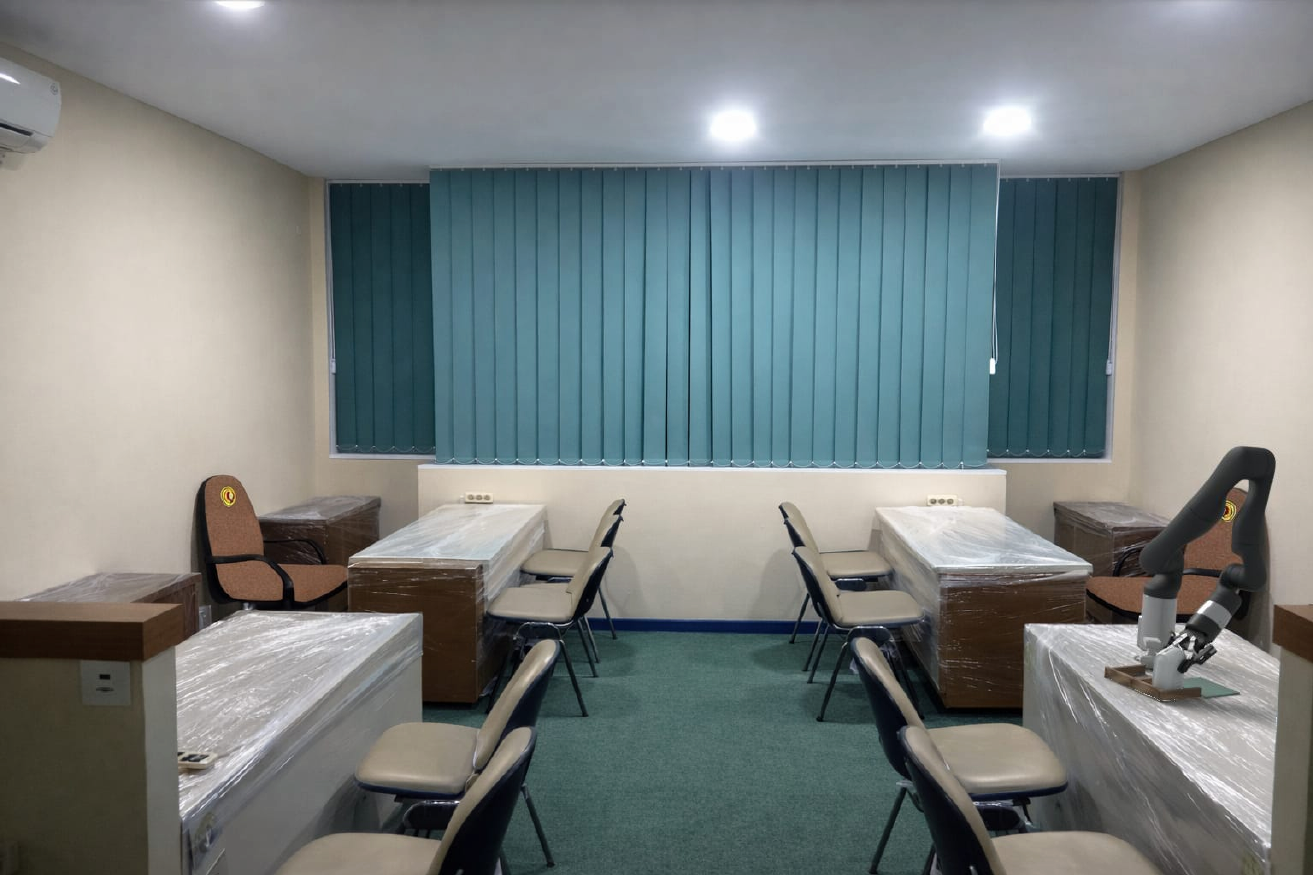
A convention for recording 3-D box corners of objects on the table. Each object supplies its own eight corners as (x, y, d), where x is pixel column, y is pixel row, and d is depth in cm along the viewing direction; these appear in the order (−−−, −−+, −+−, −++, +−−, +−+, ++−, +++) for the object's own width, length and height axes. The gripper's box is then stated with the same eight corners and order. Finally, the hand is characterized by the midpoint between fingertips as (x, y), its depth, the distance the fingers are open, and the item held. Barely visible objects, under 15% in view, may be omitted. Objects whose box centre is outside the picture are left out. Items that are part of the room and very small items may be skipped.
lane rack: (1104, 676, 251) (1105, 666, 251) (1142, 672, 255) (1143, 662, 255) (1160, 702, 233) (1161, 690, 233) (1201, 696, 237) (1201, 686, 237)
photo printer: (1168, 685, 245) (1173, 642, 243) (1184, 691, 241) (1189, 647, 240) (1148, 692, 239) (1153, 648, 238) (1164, 698, 236) (1169, 654, 234)
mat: (1167, 682, 248) (1167, 680, 248) (1200, 678, 252) (1200, 676, 252) (1205, 698, 237) (1205, 696, 237) (1239, 693, 240) (1239, 692, 240)
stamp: (1134, 668, 258) (1136, 640, 258) (1131, 661, 265) (1133, 633, 264) (1170, 673, 255) (1172, 644, 255) (1165, 665, 262) (1167, 637, 261)
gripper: (1179, 605, 248) (1141, 650, 246) (1225, 620, 235) (1186, 668, 232) (1192, 622, 250) (1155, 667, 248) (1239, 638, 237) (1200, 686, 234)
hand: (1170, 667), depth 240 cm, fingers closed on photo printer, 5 cm apart
